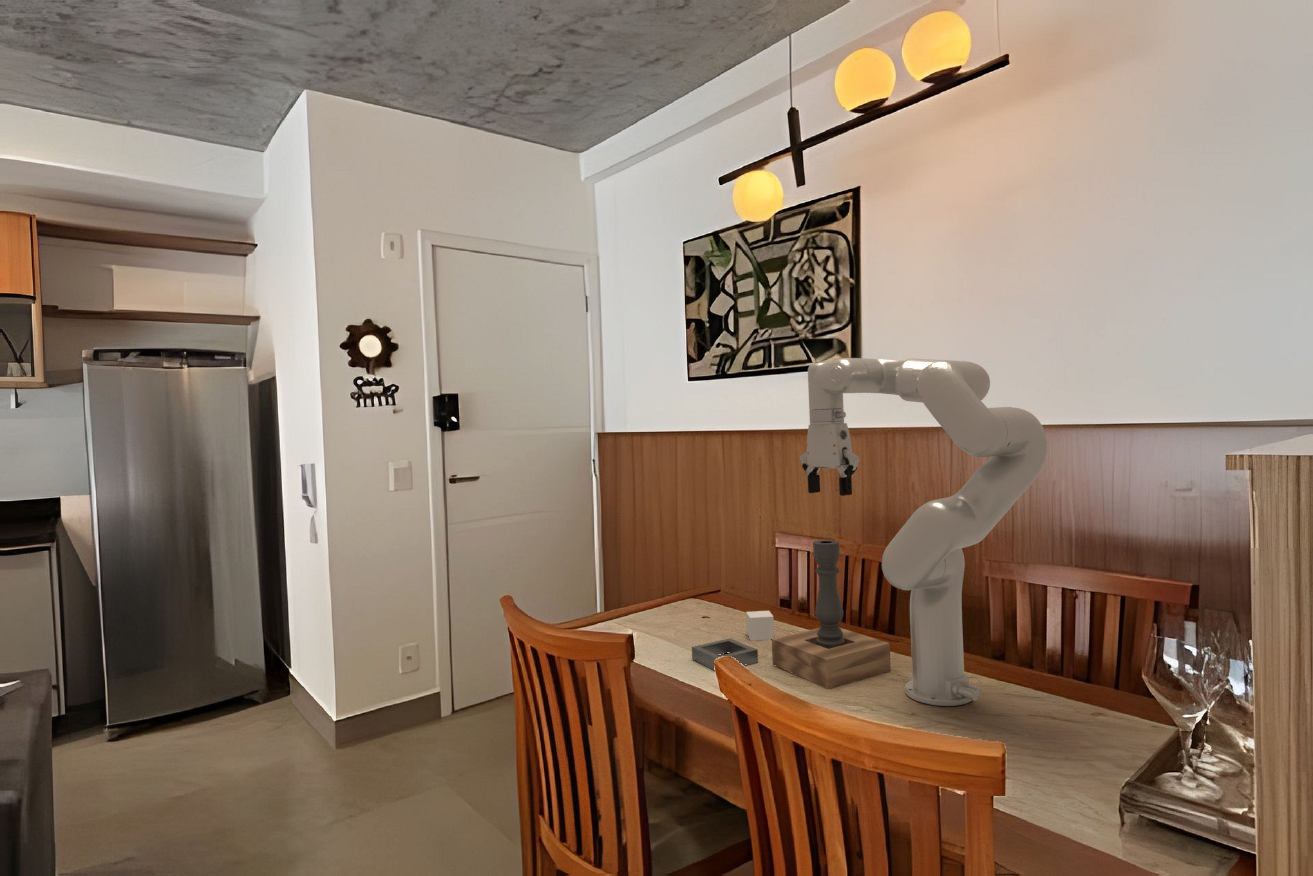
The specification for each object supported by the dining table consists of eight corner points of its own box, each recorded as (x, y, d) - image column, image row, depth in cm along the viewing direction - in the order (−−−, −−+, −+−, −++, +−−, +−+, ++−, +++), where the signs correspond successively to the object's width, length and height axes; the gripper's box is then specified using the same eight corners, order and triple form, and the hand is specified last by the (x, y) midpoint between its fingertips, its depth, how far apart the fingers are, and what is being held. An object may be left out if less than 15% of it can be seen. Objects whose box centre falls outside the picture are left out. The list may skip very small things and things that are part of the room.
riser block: (890, 670, 155) (889, 643, 155) (828, 688, 146) (826, 659, 146) (832, 650, 171) (831, 625, 171) (772, 665, 162) (771, 639, 162)
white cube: (747, 634, 187) (746, 611, 187) (769, 633, 187) (768, 610, 187) (751, 641, 181) (749, 617, 181) (774, 640, 181) (773, 616, 181)
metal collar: (758, 662, 164) (757, 649, 164) (718, 672, 159) (717, 659, 159) (730, 650, 174) (730, 638, 174) (692, 659, 168) (691, 647, 168)
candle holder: (842, 650, 161) (838, 539, 161) (847, 659, 155) (842, 544, 154) (815, 650, 162) (810, 540, 161) (818, 659, 155) (813, 545, 155)
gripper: (868, 415, 155) (871, 494, 155) (811, 418, 169) (814, 490, 170) (843, 417, 151) (846, 497, 151) (787, 419, 165) (790, 493, 166)
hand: (829, 493), depth 160 cm, fingers open, 9 cm apart
